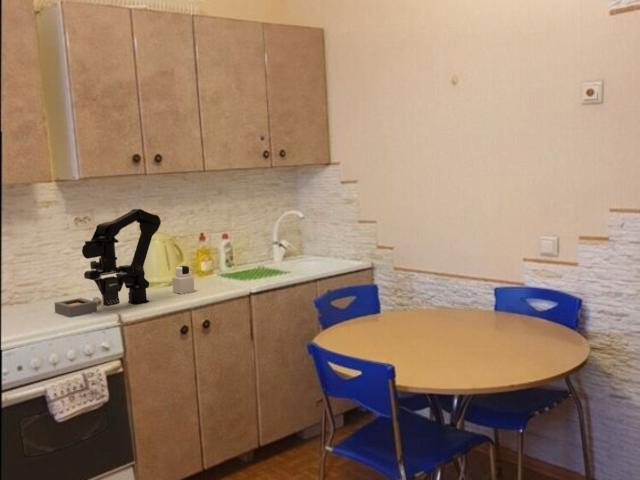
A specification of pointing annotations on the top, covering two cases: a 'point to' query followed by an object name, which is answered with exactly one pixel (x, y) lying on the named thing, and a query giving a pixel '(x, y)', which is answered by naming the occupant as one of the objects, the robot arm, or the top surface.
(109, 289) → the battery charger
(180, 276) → the grey stepped upright block
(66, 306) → the grey open box
